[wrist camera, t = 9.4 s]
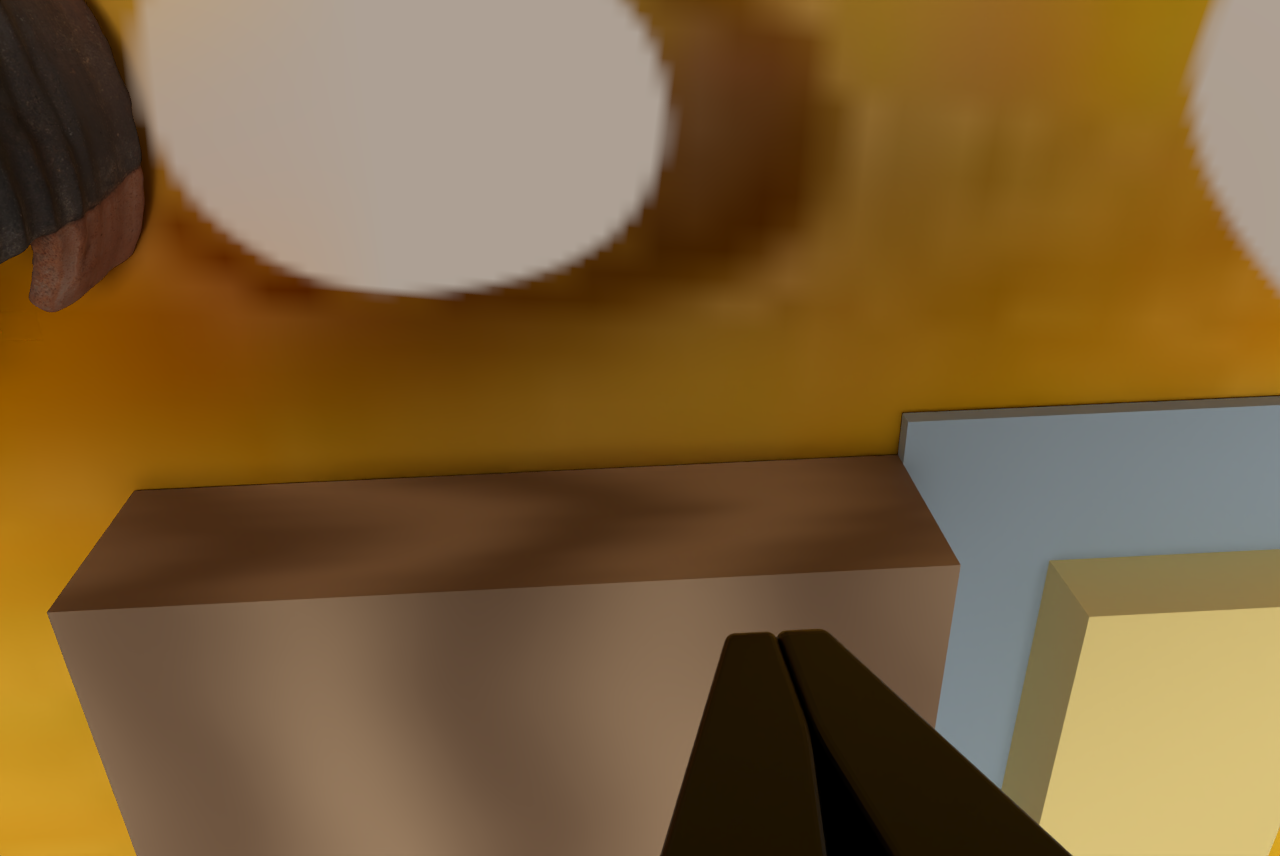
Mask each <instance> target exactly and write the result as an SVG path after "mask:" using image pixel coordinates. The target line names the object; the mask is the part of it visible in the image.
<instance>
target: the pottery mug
mask: <svg viewBox="0 0 1280 856" xmlns="http://www.w3.org/2000/svg"><path fill="white" fill-rule="evenodd" d="M131 104H132V103H131V98H130V95H129V92H128V90H127V88H126V86H125V84H124V82H123V80H122V78H121V76H120V74H119V71H118V69H117V66H116V63H115V61H114V58H113V54H112V51H111V47H110V45H109V43H108V41H107V39H106V38H105V36H104V35H103V33H102V31H101V29H100V26H99V24H98V22H97V20H96V18H95V16H94V15H93V13H92V12H91V10H90V9H89V7H88V6H87V4H86V3H85V2H84V0H0V264H1V263H3V262H4V261H6V260H8V259H10V258H12V257H14V256H16V255H18V254H20V253H22V252H23V251H25V250H26V249H27V248H28V246H29V245H30V244H31V246H32V249H33V251H34V254H33V262H32V263H33V272H32V282H31V289H30V293H29V299H30V301H31V302H32V303H33V304H34V305H35V306H37V307H39V308H40V309H42V310H44V311H47V312H56V311H59V310H61V309H63V308H65V307H67V306H69V305H71V304H72V303H74V302H75V301H77V300H78V299H80V298H81V297H82V296H83V295H84V294H85V293H86V292H87V291H89V290H90V289H91V288H92V287H93V286H94V285H96V284H97V283H98V282H99V281H100V280H102V279H103V278H104V277H105V276H106V275H107V273H108V272H109V271H110V270H111V269H113V268H114V267H116V266H117V265H119V264H121V263H122V262H124V261H125V260H126V259H128V258H129V257H130V256H131V255H132V254H133V252H134V249H135V245H136V243H137V241H138V239H139V236H140V233H141V230H142V221H143V211H144V207H145V196H144V186H143V181H144V177H143V172H142V168H141V160H142V155H141V148H140V143H139V137H138V134H137V129H136V126H135V123H134V119H133V114H132V108H131Z"/></svg>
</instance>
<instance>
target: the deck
mask: <svg viewBox="0 0 1280 856" xmlns="http://www.w3.org/2000/svg"><path fill="white" fill-rule="evenodd" d="M960 567H961V565H960V563H959V561H958V559H957V558H956V556H955V554H954V552H953V551H952V549H951V547H950V545H949V544H948V542H947V540H946V538H945V537H944V535H943V533H942V531H941V529H940V528H939V526H938V524H937V522H936V521H935V519H934V517H933V515H932V514H931V512H930V510H929V508H928V507H927V505H926V503H925V501H924V500H923V498H922V496H921V494H920V493H919V491H918V489H917V487H916V486H915V484H914V482H913V480H912V479H911V477H910V475H909V473H908V472H907V470H906V468H905V466H904V465H903V463H902V461H901V459H900V458H899V456H898V455H881V456H860V457H839V458H818V459H797V460H775V461H754V462H733V463H712V464H691V465H670V466H648V467H627V468H606V469H585V470H564V471H542V472H521V473H500V474H479V475H458V476H436V477H415V478H394V479H373V480H352V481H330V482H309V483H288V484H267V485H246V486H224V487H203V488H182V489H161V490H140V491H134V492H133V493H132V495H131V496H130V497H129V499H128V500H127V502H126V503H125V504H124V506H123V507H122V509H121V510H120V511H119V513H118V514H117V516H116V517H115V518H114V520H113V521H112V523H111V524H110V525H109V527H108V528H107V530H106V531H105V532H104V534H103V535H102V536H101V538H100V539H99V541H98V542H97V543H96V545H95V546H94V548H93V549H92V550H91V552H90V553H89V555H88V556H87V557H86V559H85V560H84V562H83V563H82V564H81V566H80V567H79V569H78V570H77V571H76V573H75V574H74V576H73V577H72V578H71V580H70V581H69V583H68V584H67V585H66V587H65V588H64V589H63V591H62V592H61V594H60V595H59V596H58V598H57V599H56V601H55V602H54V603H53V605H52V606H51V608H50V609H49V610H48V612H47V614H48V617H49V619H50V622H51V625H52V628H53V630H54V633H55V636H56V638H57V641H58V644H59V646H60V649H61V652H62V655H63V657H64V660H65V663H66V665H67V668H68V671H69V673H70V676H71V679H72V682H73V684H74V687H75V690H76V692H77V695H78V698H79V701H80V703H81V706H82V709H83V711H84V714H85V717H86V719H87V722H88V725H89V728H90V730H91V733H92V736H93V738H94V741H95V744H96V747H97V749H98V752H99V755H100V757H101V760H102V763H103V765H104V768H105V771H106V774H107V776H108V779H109V782H110V784H111V787H112V790H113V793H114V795H115V798H116V801H117V803H118V806H119V809H120V811H121V814H122V817H123V820H124V822H125V825H126V828H127V830H128V833H129V836H130V839H131V841H132V844H133V847H134V849H135V852H136V855H137V856H660V854H661V851H662V848H663V845H664V841H665V838H666V835H667V831H668V828H669V825H670V821H671V818H672V815H673V811H674V808H675V805H676V801H677V798H678V795H679V791H680V788H681V785H682V781H683V778H684V775H685V771H686V768H687V765H688V761H689V758H690V755H691V751H692V748H693V745H694V741H695V738H696V735H697V731H698V728H699V725H700V721H701V718H702V715H703V711H704V708H705V705H706V701H707V698H708V695H709V691H710V688H711V685H712V681H713V678H714V675H715V671H716V668H717V665H718V661H719V658H720V655H721V651H722V648H723V645H724V642H725V639H726V638H727V636H728V635H730V634H733V633H747V632H765V631H767V632H771V633H772V634H774V635H775V636H776V637H777V635H778V634H779V633H780V632H782V631H785V630H802V629H823V630H825V631H827V632H829V633H830V634H832V635H833V636H834V637H835V638H836V639H837V640H838V641H839V642H840V643H841V644H843V645H844V646H845V647H846V648H847V649H848V650H849V651H850V652H851V653H852V654H853V655H855V656H856V657H857V658H858V659H859V660H860V661H861V662H862V663H863V664H864V665H865V666H867V667H868V668H869V669H870V670H871V671H872V672H873V673H874V674H875V675H876V676H877V677H879V678H880V679H881V680H882V681H883V682H884V683H885V684H886V685H887V686H888V687H889V688H891V689H892V690H893V691H894V692H895V693H896V694H897V695H898V696H899V697H900V698H901V699H902V700H904V701H905V702H906V703H907V704H908V705H909V706H910V707H911V708H912V709H913V710H914V711H916V712H917V713H918V714H919V715H920V716H921V717H922V718H923V719H924V720H925V721H926V722H928V723H929V724H930V725H931V726H932V727H933V728H934V729H935V726H936V719H937V713H938V706H939V700H940V694H941V687H942V681H943V675H944V668H945V662H946V656H947V649H948V643H949V637H950V630H951V624H952V617H953V611H954V605H955V598H956V592H957V586H958V579H959V573H960Z"/></svg>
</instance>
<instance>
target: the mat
mask: <svg viewBox="0 0 1280 856" xmlns="http://www.w3.org/2000/svg"><path fill="white" fill-rule="evenodd" d="M898 456H899V458H900V459H901V461H902V463H903V465H904V466H905V468H906V470H907V472H908V473H909V475H910V477H911V479H912V480H913V482H914V484H915V486H916V487H917V489H918V491H919V493H920V494H921V496H922V498H923V500H924V501H925V503H926V505H927V507H928V508H929V510H930V512H931V514H932V515H933V517H934V519H935V521H936V522H937V524H938V526H939V528H940V529H941V531H942V533H943V535H944V537H945V538H946V540H947V542H948V544H949V545H950V547H951V549H952V551H953V552H954V554H955V556H956V558H957V559H958V561H959V563H960V565H961V567H960V573H959V579H958V586H957V592H956V598H955V605H954V611H953V617H952V624H951V630H950V637H949V643H948V649H947V656H946V662H945V668H944V675H943V681H942V687H941V694H940V700H939V706H938V713H937V719H936V726H935V730H936V731H937V732H938V733H940V734H941V735H942V736H943V737H944V738H945V739H946V740H947V741H948V742H949V743H950V744H952V745H953V746H954V747H955V748H956V749H957V750H958V751H959V752H960V753H961V754H962V755H964V756H965V757H966V758H967V759H968V760H969V761H970V762H971V763H972V764H973V765H974V766H976V767H977V768H978V769H979V770H980V771H981V772H982V773H983V774H984V775H985V776H986V777H988V778H989V779H990V780H991V781H992V782H993V783H994V784H995V785H996V786H997V787H998V788H1000V789H1002V784H1003V779H1004V774H1005V770H1006V765H1007V760H1008V755H1009V751H1010V746H1011V741H1012V736H1013V732H1014V727H1015V722H1016V717H1017V713H1018V708H1019V703H1020V698H1021V694H1022V689H1023V684H1024V679H1025V675H1026V670H1027V665H1028V660H1029V656H1030V651H1031V646H1032V641H1033V637H1034V632H1035V627H1036V622H1037V618H1038V613H1039V608H1040V603H1041V599H1042V594H1043V589H1044V584H1045V580H1046V575H1047V570H1048V565H1049V561H1050V560H1069V559H1089V558H1109V557H1130V556H1150V555H1170V554H1190V553H1211V552H1231V551H1251V550H1271V549H1280V396H1269V397H1247V398H1225V399H1203V400H1181V401H1159V402H1137V403H1115V404H1093V405H1071V406H1049V407H1027V408H1005V409H983V410H961V411H939V412H917V413H903V414H902V423H901V432H900V441H899V449H898Z"/></svg>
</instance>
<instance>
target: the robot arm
mask: <svg viewBox="0 0 1280 856" xmlns="http://www.w3.org/2000/svg"><path fill="white" fill-rule="evenodd" d="M660 856H1073V855H1072V854H1070V853H1069V852H1068V851H1067V850H1066V849H1065V848H1064V847H1063V846H1062V845H1061V844H1060V843H1058V842H1057V841H1056V840H1055V839H1054V838H1053V837H1052V836H1051V835H1050V834H1049V833H1048V832H1046V831H1045V830H1044V829H1043V828H1042V827H1041V826H1040V825H1039V824H1038V823H1037V822H1036V821H1034V820H1033V819H1032V818H1031V817H1030V816H1029V815H1028V814H1027V813H1026V812H1025V811H1024V810H1022V809H1021V808H1020V807H1019V806H1018V805H1017V804H1016V803H1015V802H1014V801H1013V800H1012V799H1010V798H1009V797H1008V796H1007V795H1006V794H1005V793H1004V792H1003V791H1002V790H1001V789H1000V788H998V787H997V786H996V785H995V784H994V783H993V782H992V781H991V780H990V779H989V778H988V777H986V776H985V775H984V774H983V773H982V772H981V771H980V770H979V769H978V768H977V767H976V766H974V765H973V764H972V763H971V762H970V761H969V760H968V759H967V758H966V757H965V756H964V755H962V754H961V753H960V752H959V751H958V750H957V749H956V748H955V747H954V746H953V745H952V744H950V743H949V742H948V741H947V740H946V739H945V738H944V737H943V736H942V735H941V734H940V733H938V732H937V731H936V730H935V729H934V728H933V727H932V726H931V725H930V724H929V723H928V722H926V721H925V720H924V719H923V718H922V717H921V716H920V715H919V714H918V713H917V712H916V711H914V710H913V709H912V708H911V707H910V706H909V705H908V704H907V703H906V702H905V701H904V700H902V699H901V698H900V697H899V696H898V695H897V694H896V693H895V692H894V691H893V690H892V689H891V688H889V687H888V686H887V685H886V684H885V683H884V682H883V681H882V680H881V679H880V678H879V677H877V676H876V675H875V674H874V673H873V672H872V671H871V670H870V669H869V668H868V667H867V666H865V665H864V664H863V663H862V662H861V661H860V660H859V659H858V658H857V657H856V656H855V655H853V654H852V653H851V652H850V651H849V650H848V649H847V648H846V647H845V646H844V645H843V644H841V643H840V642H839V641H838V640H837V639H836V638H835V637H834V636H833V635H832V634H830V633H829V632H827V631H825V630H823V629H802V630H785V631H782V632H780V633H779V634H778V635H777V637H776V636H775V635H774V634H772V633H771V632H767V631H765V632H747V633H733V634H730V635H728V636H727V638H726V639H725V642H724V645H723V648H722V651H721V655H720V658H719V661H718V665H717V668H716V671H715V675H714V678H713V681H712V685H711V688H710V691H709V695H708V698H707V701H706V705H705V708H704V711H703V715H702V718H701V721H700V725H699V728H698V731H697V735H696V738H695V741H694V745H693V748H692V751H691V755H690V758H689V761H688V765H687V768H686V771H685V775H684V778H683V781H682V785H681V788H680V791H679V795H678V798H677V801H676V805H675V808H674V811H673V815H672V818H671V821H670V825H669V828H668V831H667V835H666V838H665V841H664V845H663V848H662V851H661V854H660Z"/></svg>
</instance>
